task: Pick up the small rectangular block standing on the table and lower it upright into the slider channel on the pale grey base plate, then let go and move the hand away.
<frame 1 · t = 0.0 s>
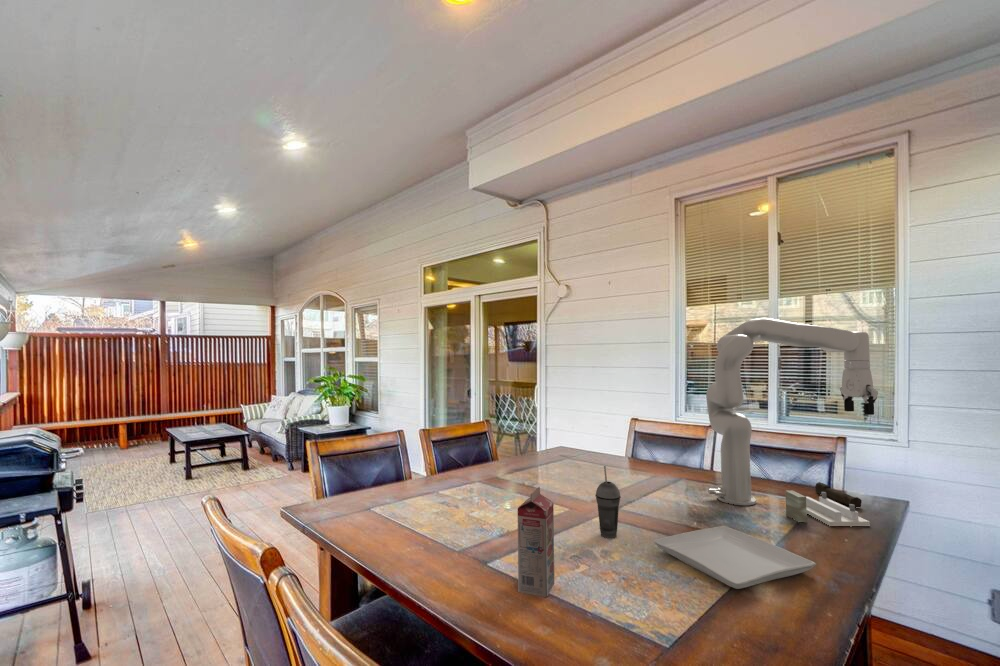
hand: (858, 412, 172), 31 cm above the table, tool pointing down, fingers open, 9 cm apart
slider channel: (829, 516, 154), on the table
juice carton: (536, 588, 109), on the table
hand tool: (834, 501, 171), on the table
rectangular block: (796, 518, 152), on the table
square plate: (729, 565, 121), on the table
beverage cup: (608, 536, 139), on the table
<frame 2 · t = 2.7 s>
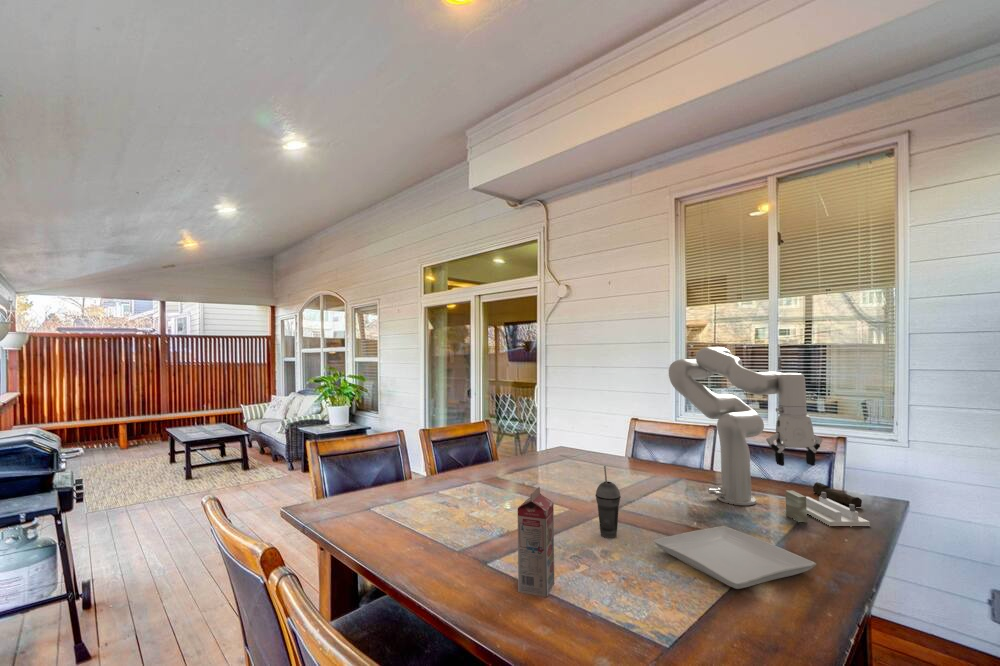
hand: (795, 464, 153), 17 cm above the table, tool pointing down, fingers open, 9 cm apart
nothing on the table moved.
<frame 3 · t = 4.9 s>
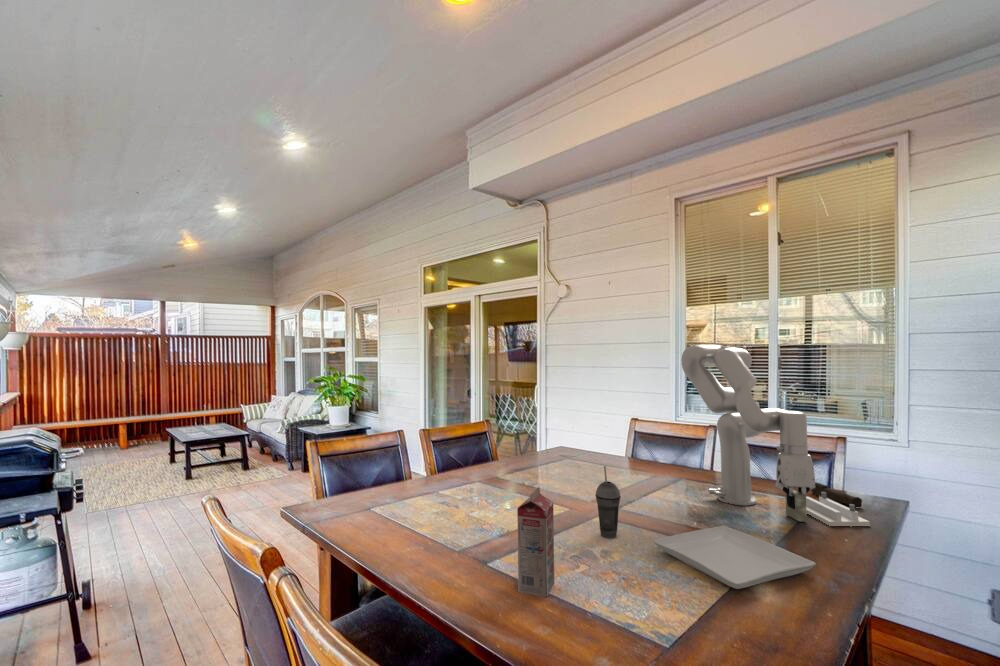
hand: (795, 507, 153), 4 cm above the table, tool pointing down, fingers closed on rectangular block, 2 cm apart
rectangular block: (796, 517, 152), on the table, touching gripper
everything else where it was.
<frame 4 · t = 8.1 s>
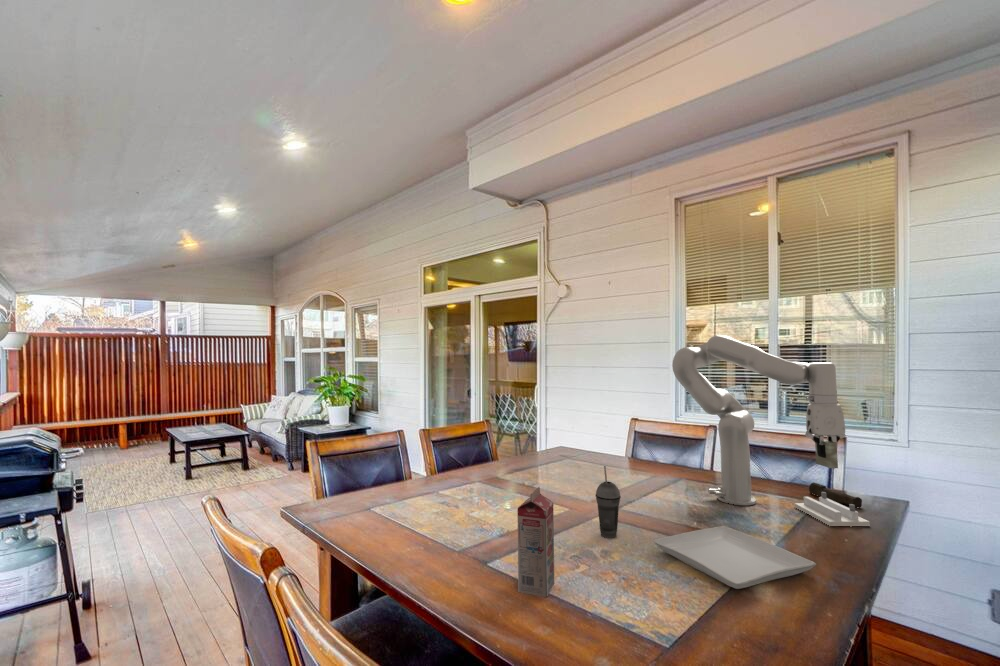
hand: (826, 456, 155), 19 cm above the table, tool pointing down, fingers closed on rectangular block
rectangular block: (826, 465, 155), point 16 cm above the table, touching gripper
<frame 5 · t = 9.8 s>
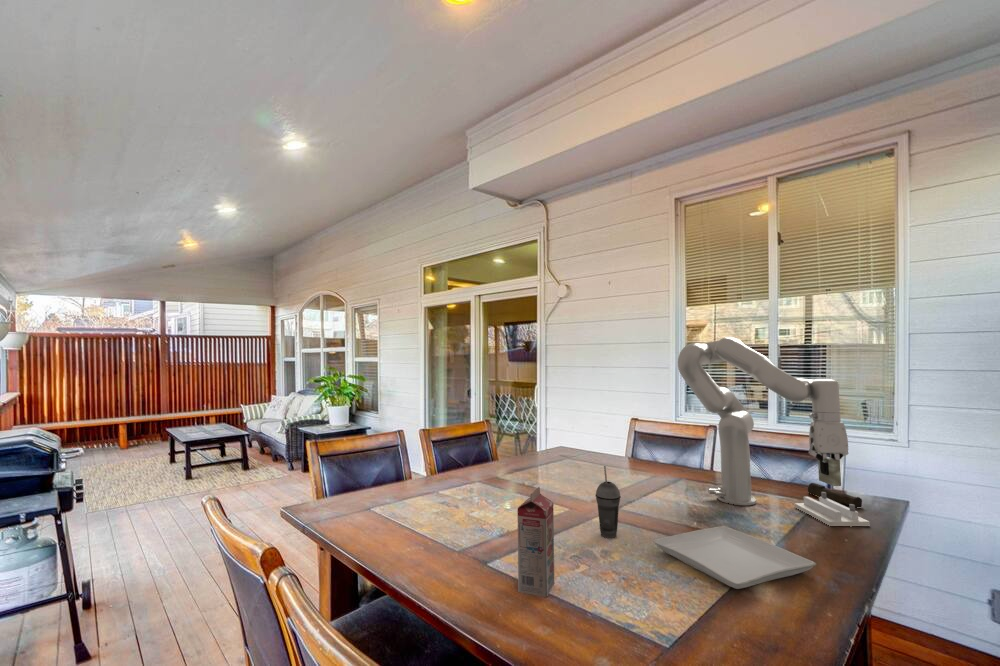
hand: (829, 473, 155), 14 cm above the table, tool pointing down, fingers closed on rectangular block
rectangular block: (829, 483, 155), point 11 cm above the table, touching gripper
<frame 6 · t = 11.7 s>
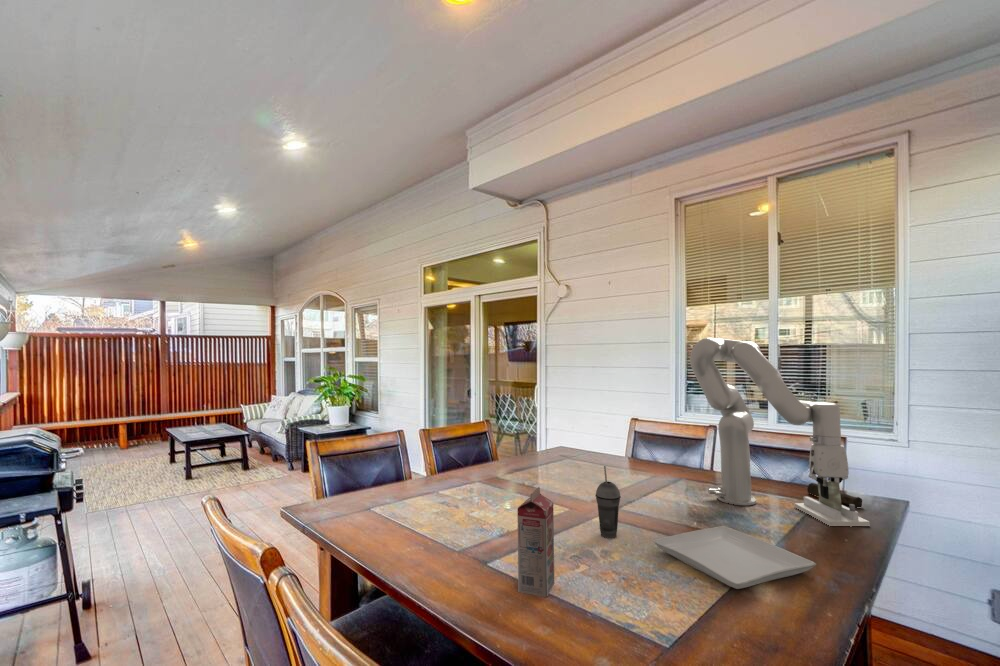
hand: (829, 497, 155), 6 cm above the table, tool pointing down, fingers closed on rectangular block, 1 cm apart
rectangular block: (830, 506, 154), point 3 cm above the table, tilted 7°, touching gripper
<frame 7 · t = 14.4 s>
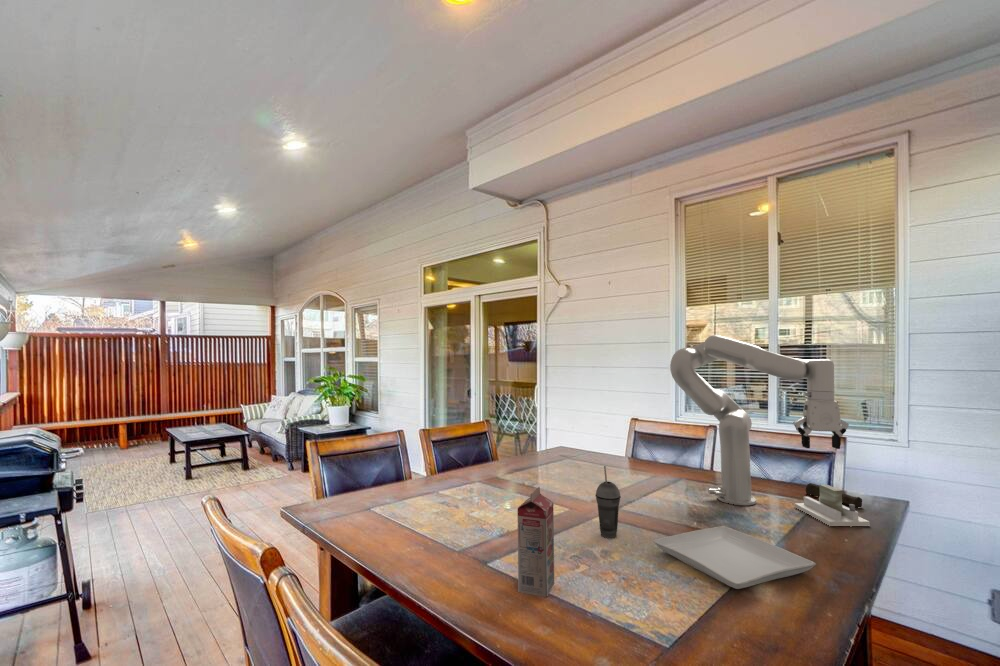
hand: (821, 447, 158), 22 cm above the table, tool pointing down, fingers open, 9 cm apart
rectangular block: (831, 512, 154), point 1 cm above the table, touching slider channel
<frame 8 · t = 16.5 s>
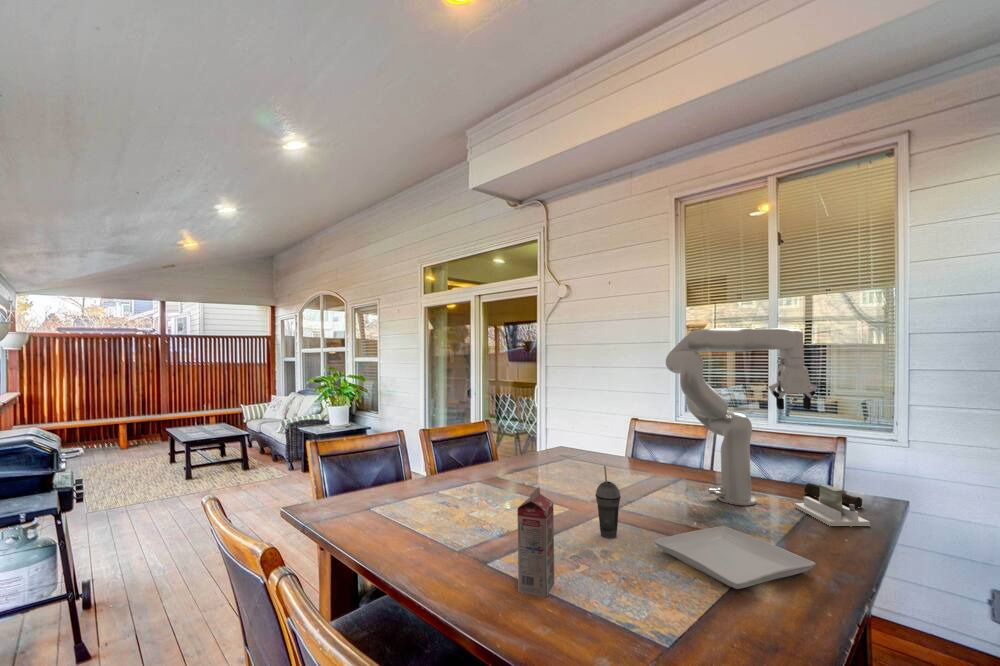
hand: (793, 408, 177), 32 cm above the table, tool pointing down, fingers open, 9 cm apart
at the end: rectangular block 0.7 cm off-centre on the slider channel, point 1.5 cm above the slider channel's base; rectangular block tilted 0°; the gripper is holding nothing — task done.
